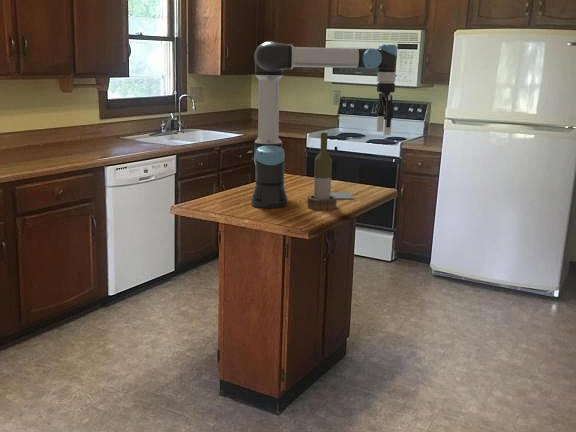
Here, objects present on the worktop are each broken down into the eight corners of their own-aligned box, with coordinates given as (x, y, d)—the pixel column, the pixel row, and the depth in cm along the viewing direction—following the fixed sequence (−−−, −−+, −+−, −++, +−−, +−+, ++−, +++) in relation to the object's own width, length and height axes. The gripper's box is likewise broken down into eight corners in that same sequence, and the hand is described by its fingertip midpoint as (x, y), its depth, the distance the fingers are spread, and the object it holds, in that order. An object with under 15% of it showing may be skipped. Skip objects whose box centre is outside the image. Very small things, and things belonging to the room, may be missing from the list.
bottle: (333, 208, 259) (335, 134, 251) (316, 209, 256) (319, 134, 249) (326, 204, 265) (329, 132, 258) (310, 205, 263) (312, 132, 255)
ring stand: (309, 210, 255) (309, 200, 254) (306, 203, 266) (306, 194, 265) (337, 210, 256) (338, 200, 255) (333, 203, 267) (333, 194, 266)
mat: (326, 199, 275) (326, 198, 274) (322, 193, 286) (322, 192, 286) (354, 199, 276) (354, 198, 275) (349, 193, 287) (349, 192, 287)
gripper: (402, 84, 257) (399, 137, 262) (387, 81, 281) (385, 130, 286) (384, 83, 256) (381, 136, 262) (371, 81, 281) (368, 129, 286)
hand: (383, 133), depth 274 cm, fingers open, 13 cm apart
